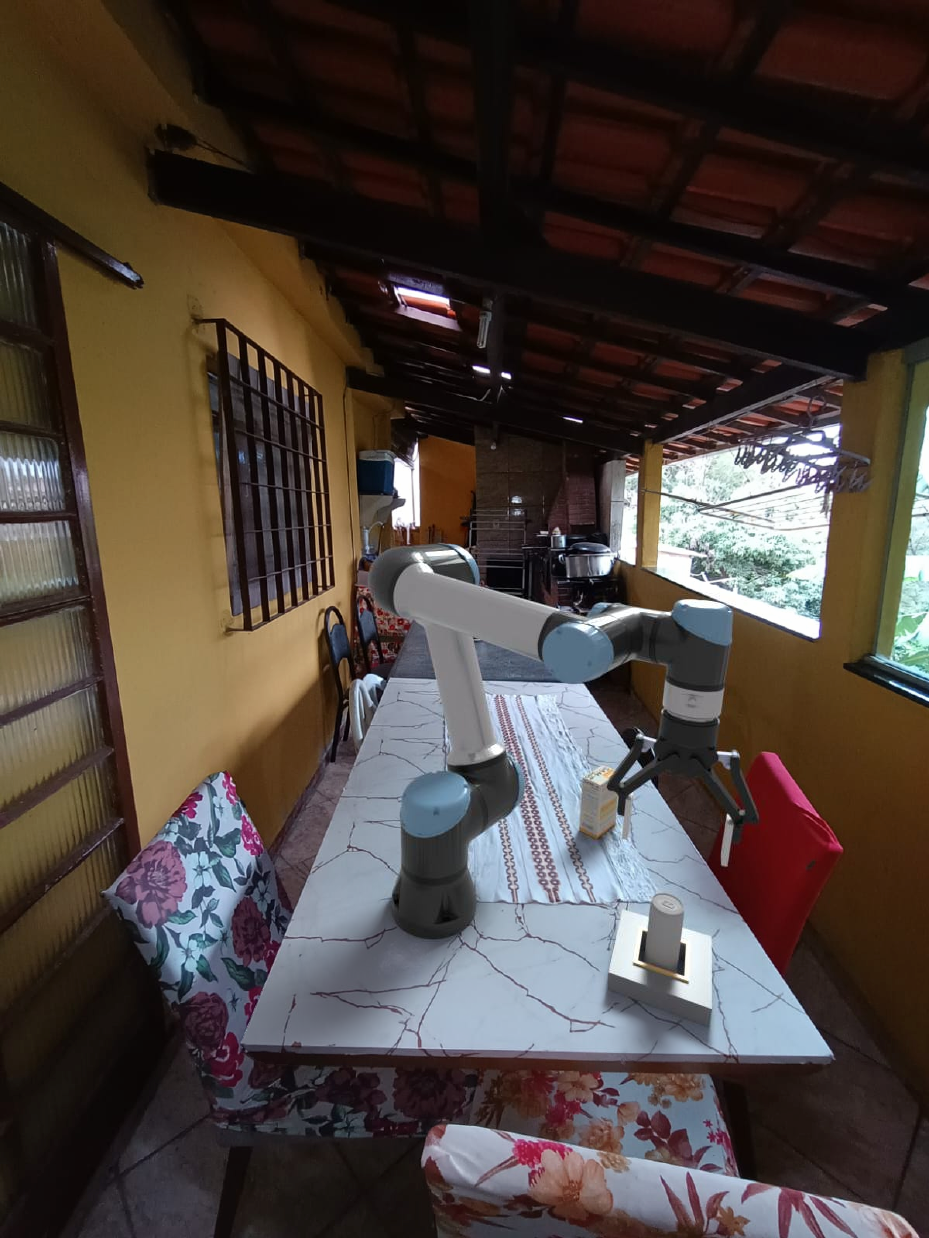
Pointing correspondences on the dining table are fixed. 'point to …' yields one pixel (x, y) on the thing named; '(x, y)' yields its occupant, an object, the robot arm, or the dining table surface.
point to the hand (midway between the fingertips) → (673, 847)
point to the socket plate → (663, 971)
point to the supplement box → (597, 803)
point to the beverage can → (664, 932)
